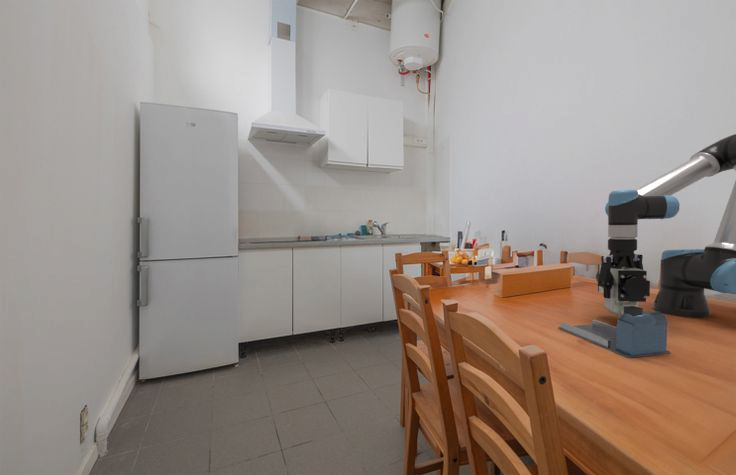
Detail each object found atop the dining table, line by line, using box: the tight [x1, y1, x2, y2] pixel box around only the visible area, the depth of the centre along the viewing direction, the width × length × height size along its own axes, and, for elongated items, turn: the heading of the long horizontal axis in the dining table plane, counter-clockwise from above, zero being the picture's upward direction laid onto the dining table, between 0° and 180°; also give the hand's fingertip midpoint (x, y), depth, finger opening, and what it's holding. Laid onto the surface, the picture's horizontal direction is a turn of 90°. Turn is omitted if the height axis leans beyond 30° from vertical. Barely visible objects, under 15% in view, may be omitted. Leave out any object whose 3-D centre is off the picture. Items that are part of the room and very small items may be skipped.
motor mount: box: [557, 306, 671, 359], centre depth 94 cm, size 13×23×12 cm, turn 12°
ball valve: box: [595, 264, 651, 318], centre depth 107 cm, size 18×8×18 cm, turn 169°
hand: (621, 306), depth 108 cm, fingers closed on ball valve, 9 cm apart
